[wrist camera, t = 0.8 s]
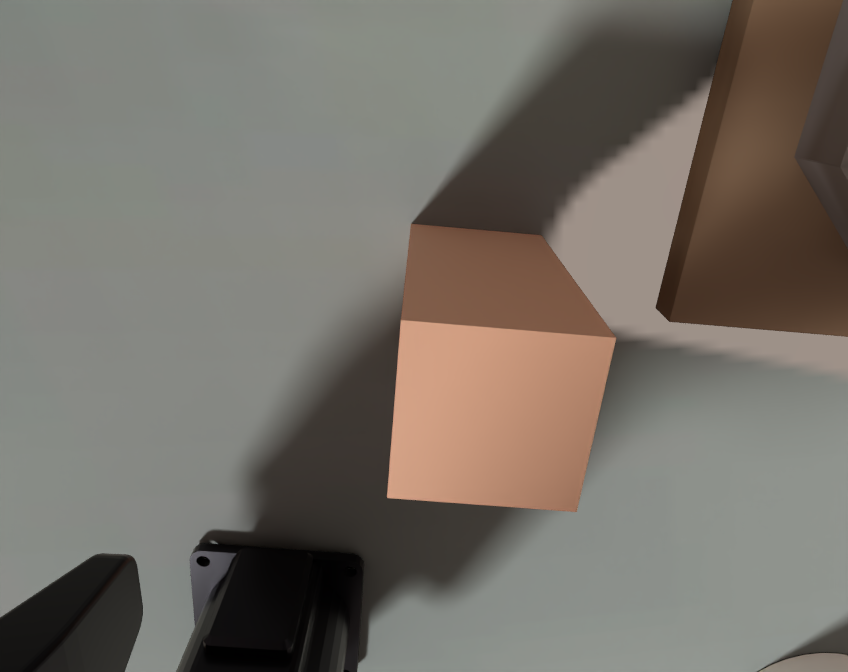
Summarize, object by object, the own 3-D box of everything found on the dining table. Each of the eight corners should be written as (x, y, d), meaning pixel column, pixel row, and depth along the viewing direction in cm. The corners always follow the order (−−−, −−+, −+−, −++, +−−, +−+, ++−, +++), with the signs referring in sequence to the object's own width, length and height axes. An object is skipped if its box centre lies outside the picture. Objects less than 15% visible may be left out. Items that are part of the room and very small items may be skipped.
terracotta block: (521, 353, 20) (576, 512, 13) (401, 343, 20) (387, 498, 13) (541, 235, 19) (616, 338, 11) (411, 223, 19) (401, 320, 11)
